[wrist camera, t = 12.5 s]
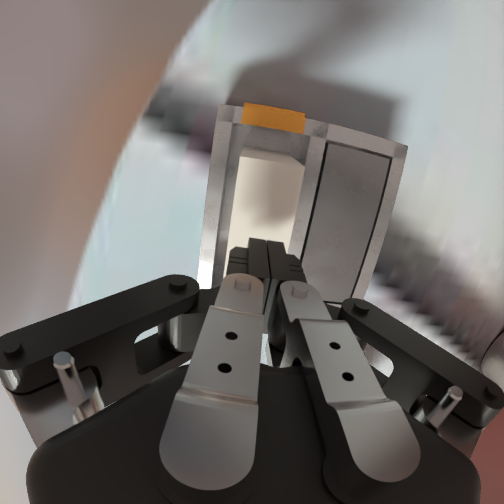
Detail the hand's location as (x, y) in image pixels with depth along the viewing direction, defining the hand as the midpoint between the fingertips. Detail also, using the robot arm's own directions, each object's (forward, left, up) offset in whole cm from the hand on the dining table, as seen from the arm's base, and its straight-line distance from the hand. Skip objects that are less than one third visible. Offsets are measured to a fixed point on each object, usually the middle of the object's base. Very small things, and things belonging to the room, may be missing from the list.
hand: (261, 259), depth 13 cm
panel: (0, 0, -9) cm, 9 cm away
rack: (-3, 0, -9) cm, 10 cm away
